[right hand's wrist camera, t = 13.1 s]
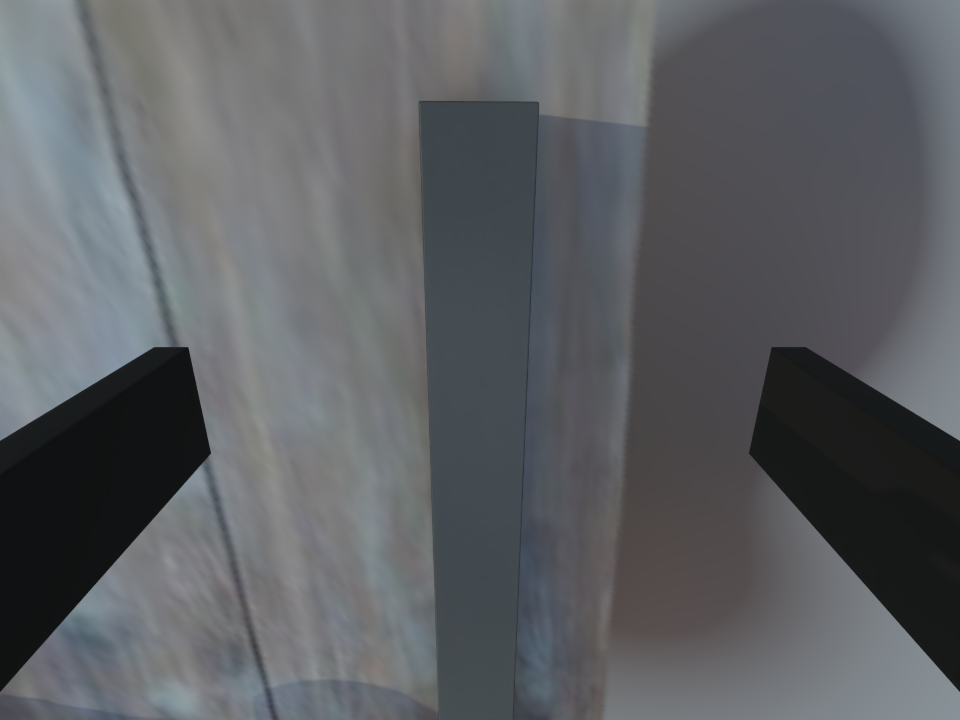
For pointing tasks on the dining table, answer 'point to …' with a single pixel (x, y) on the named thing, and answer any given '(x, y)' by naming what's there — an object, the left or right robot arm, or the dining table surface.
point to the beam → (477, 386)
